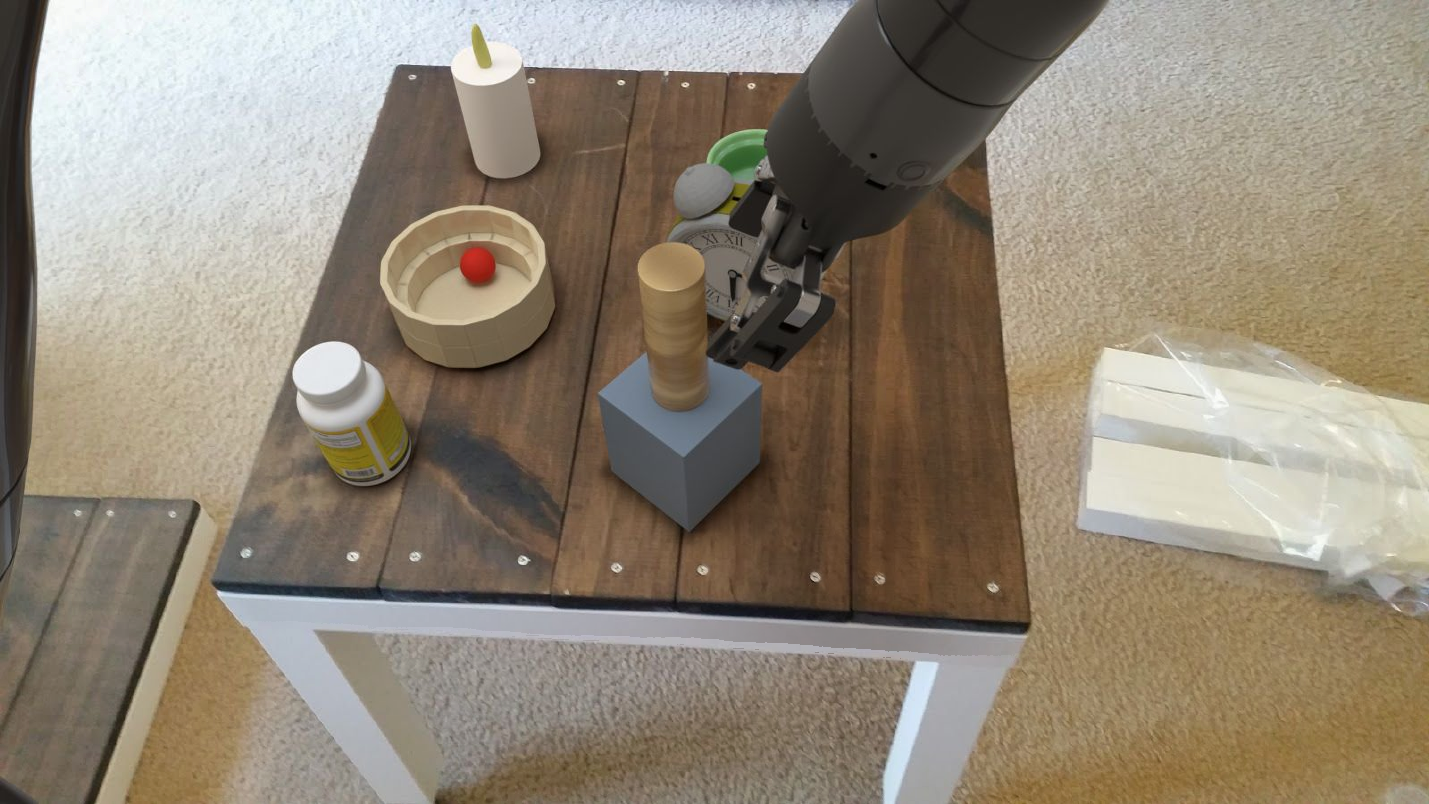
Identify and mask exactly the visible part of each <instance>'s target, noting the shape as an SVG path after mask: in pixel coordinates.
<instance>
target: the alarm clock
mask: <svg viewBox="0 0 1429 804" xmlns="http://www.w3.org/2000/svg"><path fill="white" fill-rule="evenodd" d="M752 183H753V181H749V180H742V179H733V178H732V176H731V174H730V173H729V172H728V171H726V170H725V169H724V168H722V167H720V166H718V165H716V164H710V163H707V162H703V163H697V164H696V163H695V164H694V165H692V166H688V167H687V168H686V169H685V170H684V171H683V172H682V173H681V174H680V176H679V177H678V178H677V180H676V182H675V185H674V190H673V196H672V197H673V204H674V207H675V209H676V211H677V213H678V215H677V217H676V219H675V220H674V223H673V224H672V227H671V228H670V230H669V232H668V234H667V237H666V240H665V243H668V242H677V243H683V244H687V245H689V246H691V247H693V248H695V249H696V250H697V251H698V252H699V253H700V254H701V255H702V257H703V259H704V261H705V274H706V303H707V315H709V316H711V317H712V318H715V319H718V320H721V321H723V322H725V321H726V320H727V319H728V318H729V317H730V316H731V315H732V313H733V312H735V310H736V308H737V306H738V304H739V302H740V300H741V297H742V295H743V293H744V291H745V289H746V285H745V282H744V280H743V277H742V272H743V270H744V267H745V265H746V263H747V261H748V259H749V257H750V254H751V252H752V250H753V248H754V246H755V243H756V241H757V239H758V237H753V236H750V235H748V234H745V233H742V232H740V231H737V230H735V229H732V228H731V227H730V226H729V224H728V223H729V217H730V212H731V211H732V209H733V208H734V207H735V205H736V204H737V203H738V201H739V200H740V199H741V197H742V196H743V195H744V193H745V192H746V191H747V189H748V188H749V187H750V185H751V184H752ZM794 271H795V270H794V269H791V268H788V267H786V266H783V265H780V264H778V263H775V262H773V261H771V260H770V259H769V258H768V259H767V261H766V263H765V265H764V268H763V270H762V272H764V273H767V274H769V275H772V276H775V277H777V278H780V279H783V280H784V279H787V280H789V281H791V279H792V277H793V274H794ZM767 298H768V297H767V296H762V297H760V298H759V300H758V302H757V304H756V306H755V308H754V310H753V312H756V311H757V310H758V309H759V308H760V307H761V305H762V304H763V303H764V302H765V301H766V299H767Z"/></svg>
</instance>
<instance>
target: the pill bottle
mask: <svg viewBox="0 0 1429 804" xmlns="http://www.w3.org/2000/svg"><path fill="white" fill-rule="evenodd" d="M291 376H292V381H293V383H294V385H295V387H296V389H297V392H296V399H295V400H296V401H295V402H296V408H297V410H298V413H299V416H300V418H301V420H302V422H303V423H304V424H305V425H306V428H307V429H308V431H309V433H310V434H311V436H312V438H313V440H314V441H315V443H316V444H317V446H318V448H319V450H320V451H321V453H322V454H323V457H324V458H325V459H326V461H327V463H328V464H329V466H330V468H331V469H332V471H333V473H334V474H335V475H336V476H337V477H338V478H339V479H340V480H342V481H343V482H345V483H346V484H349V485H351V486H357V487H369V486H371V487H372V486H376V485H379V484H382V483H385V482H386V481H389V480H390V479H392V478H393V477H395V476H396V475H397V474H398V473H399V472H400V471H402V470H403V469H404V467H405V466H406V465H407V463H408V460H409V458H410V455H411V451H412V440H411V436H410V434H409V431H408V429H407V426H406V424H405V423H404V420H403V419H402V416H401V414H400V412H399V410H398V407H397V406H396V404H395V401H394V399H393V397H392V395H391V393H390V391H389V388H388V386H387V384H386V382H385V380H384V378H383V376H382V374H381V372H380V371H379V370H378V369H377V368H376V367H375V366H374V365H372V364H371V363H369V362H367V361H365V360H363V358H362V356H361V354H360V352H359V351H358V350H357V349H356V348H355V347H354V346H352V345H351V344H349V343H346V342H342V341H326V342H322V343H318V344H316V345H314V346H312V347H310V348H309V349H307V350H306V351H304V352H303V353H302V354H301V355H300V356H299V357H298V359H297V360H296V361H295V363H294V365H293V368H292V375H291Z"/></svg>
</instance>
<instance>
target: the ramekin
mask: <svg viewBox="0 0 1429 804" xmlns="http://www.w3.org/2000/svg"><path fill="white" fill-rule="evenodd" d="M767 131H768V129H763V128H762V129H761V128H758V129H757V128H753V129H750V128H749V129H744V130H740V131H735V132H732V133H730V134H728V135H726V136H724V137H723V138H721V139H719V140H718V141H716V143H714V145H713V146H712V147H711V149H710V150H709V152H708V154H707V157H706V163H710V164H716V165H718V166H720V167H722V168H724V169H725V170H726V171H728V172H729V173H730V174H731V176H732V178H733V179H742V180H749V181H754V175H755V173H754V172H755V168H756V166H757V165H758V164H759V163H760V161H761V160H762V159H765V156H766V155H767V149H766V148H764V147H763V144H764V136H765V134H766V132H767Z"/></svg>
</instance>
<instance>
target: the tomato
mask: <svg viewBox="0 0 1429 804" xmlns="http://www.w3.org/2000/svg"><path fill="white" fill-rule="evenodd" d="M495 268H496V264H495V259H494V257H493V256H492V254H491V253H490V252H489V251H487V250H486V249H483V248H479V247H475V248H471V249H469V250H467V251H466V252H465V253H464V254H463V255H462V257H461V259H460V270H461V272H462V274H463V276H464V277H465V278H466V279H468V280H469V281H471V282H475V283H481V282H485V281H487V280H488V279H490V278H491V277H492V275H493V274H494V272H495Z"/></svg>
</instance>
